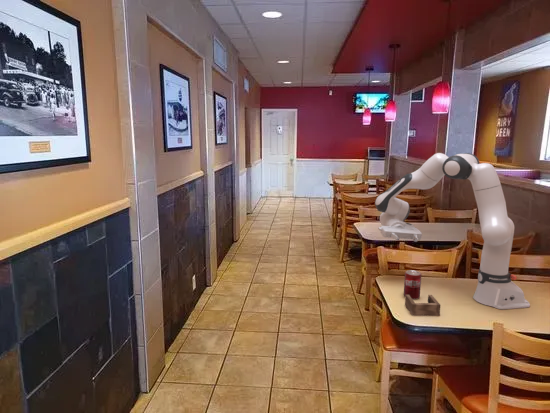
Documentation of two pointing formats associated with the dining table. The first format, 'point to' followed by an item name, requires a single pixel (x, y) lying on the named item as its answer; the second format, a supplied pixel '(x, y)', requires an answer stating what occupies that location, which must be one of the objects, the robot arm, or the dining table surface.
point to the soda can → (412, 284)
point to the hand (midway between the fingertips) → (407, 239)
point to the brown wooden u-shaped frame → (423, 307)
